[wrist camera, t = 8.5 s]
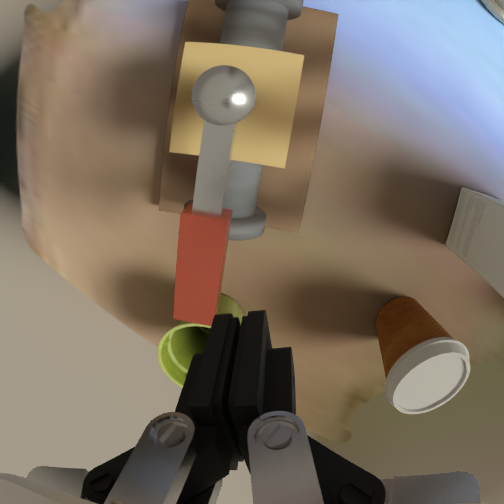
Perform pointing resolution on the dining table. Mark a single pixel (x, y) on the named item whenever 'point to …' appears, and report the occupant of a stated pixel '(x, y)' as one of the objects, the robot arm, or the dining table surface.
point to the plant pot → (188, 342)
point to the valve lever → (210, 193)
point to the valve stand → (264, 114)
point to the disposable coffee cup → (418, 357)
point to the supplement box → (480, 235)
